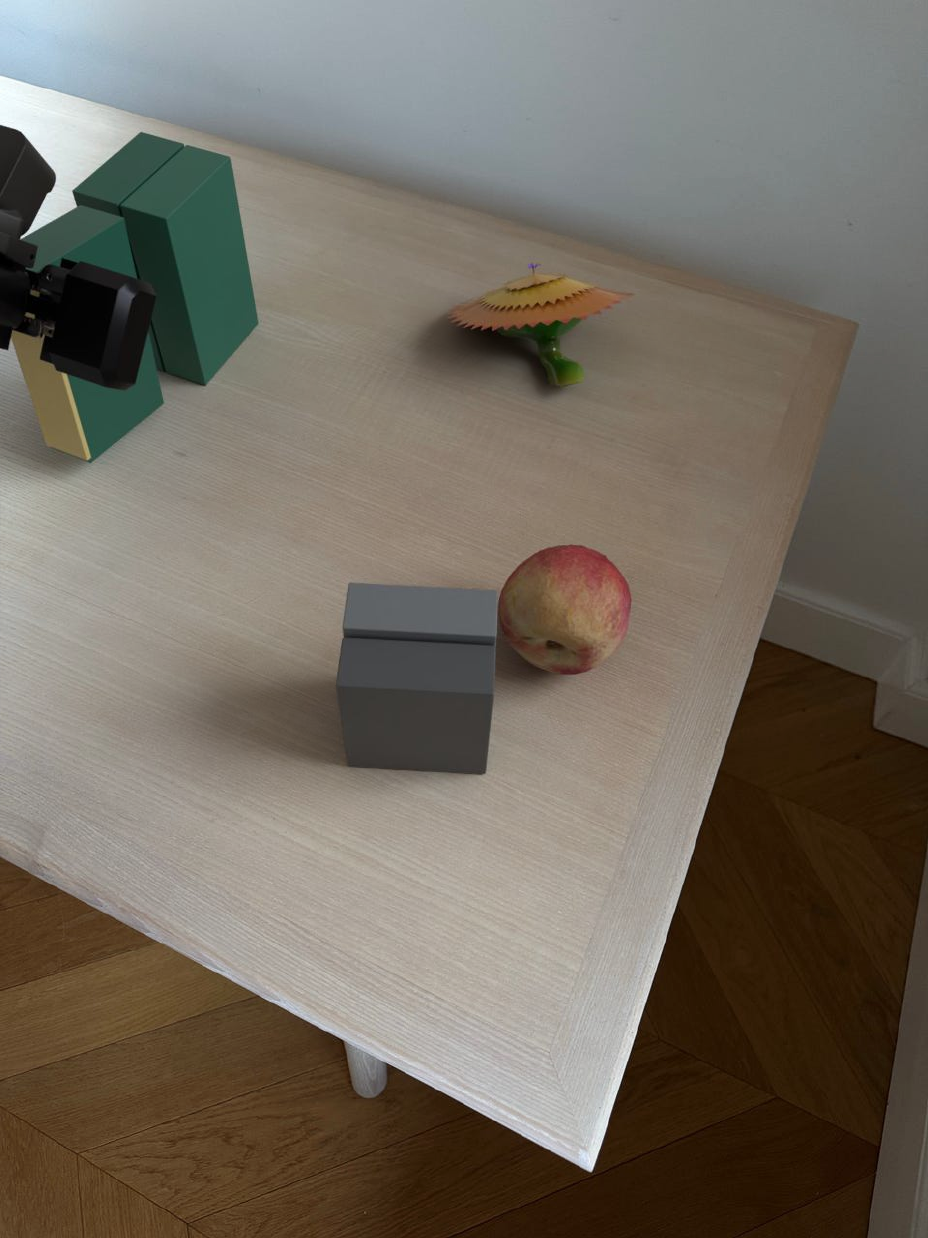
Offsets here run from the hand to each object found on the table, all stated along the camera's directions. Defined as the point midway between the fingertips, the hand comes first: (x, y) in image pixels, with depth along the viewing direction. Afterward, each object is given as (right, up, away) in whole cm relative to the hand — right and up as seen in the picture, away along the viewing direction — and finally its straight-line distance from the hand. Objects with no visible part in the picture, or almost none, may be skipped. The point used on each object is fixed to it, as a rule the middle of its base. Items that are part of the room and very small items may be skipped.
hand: (87, 317), depth 66 cm
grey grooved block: (+22, -26, -6) cm, 35 cm away
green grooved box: (+4, +2, +13) cm, 13 cm away
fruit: (+31, -22, -3) cm, 38 cm away
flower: (+30, +2, +14) cm, 33 cm away
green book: (-1, -6, +6) cm, 8 cm away
